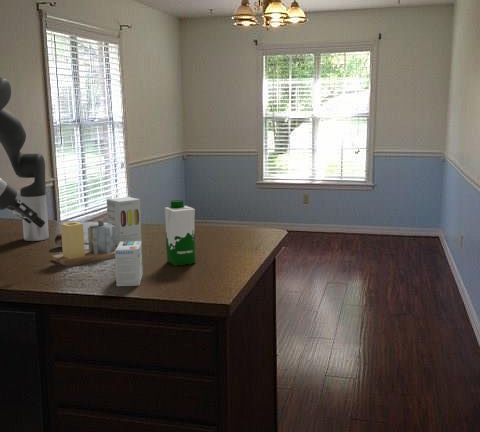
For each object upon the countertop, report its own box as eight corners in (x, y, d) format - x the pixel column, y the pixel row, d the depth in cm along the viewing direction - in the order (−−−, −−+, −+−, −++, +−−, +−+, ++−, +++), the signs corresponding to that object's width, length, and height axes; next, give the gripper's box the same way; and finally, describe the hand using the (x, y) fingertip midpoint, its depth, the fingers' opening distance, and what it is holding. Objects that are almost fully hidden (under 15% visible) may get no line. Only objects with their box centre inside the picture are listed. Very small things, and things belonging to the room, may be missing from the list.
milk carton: (188, 257, 191) (186, 199, 187) (199, 264, 183) (197, 202, 179) (163, 261, 187) (161, 201, 183) (173, 267, 179) (171, 205, 175)
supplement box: (119, 247, 207) (117, 201, 204) (107, 243, 214) (105, 198, 211) (142, 243, 213) (140, 198, 210) (129, 239, 220) (127, 196, 217)
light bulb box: (120, 276, 170) (118, 241, 168) (143, 275, 171) (141, 240, 169) (115, 286, 160) (114, 249, 158) (140, 286, 160) (138, 248, 158)
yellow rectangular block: (62, 256, 188) (60, 223, 186) (77, 253, 192) (75, 221, 190) (70, 259, 185) (68, 225, 183) (84, 256, 188) (82, 223, 186)
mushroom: (69, 242, 201) (67, 226, 204) (50, 249, 203) (49, 234, 206) (83, 248, 208) (81, 233, 211) (65, 255, 210) (63, 240, 213)
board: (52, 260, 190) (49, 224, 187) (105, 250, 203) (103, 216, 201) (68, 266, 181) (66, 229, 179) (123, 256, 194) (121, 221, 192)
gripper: (13, 183, 165) (54, 217, 174) (-4, 179, 175) (35, 210, 185) (-4, 204, 162) (39, 236, 172) (-21, 198, 172) (20, 229, 182)
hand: (37, 223), depth 178 cm, fingers open, 8 cm apart
